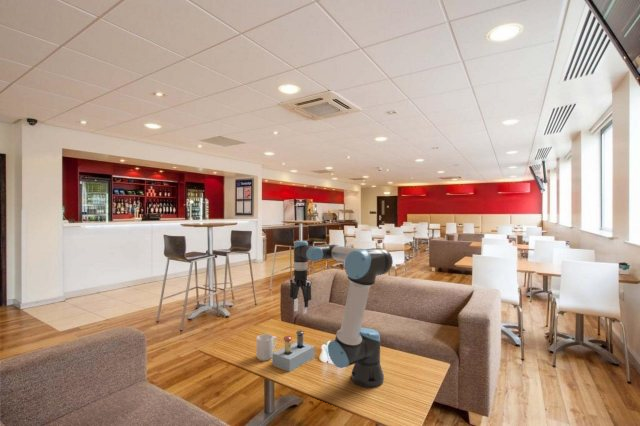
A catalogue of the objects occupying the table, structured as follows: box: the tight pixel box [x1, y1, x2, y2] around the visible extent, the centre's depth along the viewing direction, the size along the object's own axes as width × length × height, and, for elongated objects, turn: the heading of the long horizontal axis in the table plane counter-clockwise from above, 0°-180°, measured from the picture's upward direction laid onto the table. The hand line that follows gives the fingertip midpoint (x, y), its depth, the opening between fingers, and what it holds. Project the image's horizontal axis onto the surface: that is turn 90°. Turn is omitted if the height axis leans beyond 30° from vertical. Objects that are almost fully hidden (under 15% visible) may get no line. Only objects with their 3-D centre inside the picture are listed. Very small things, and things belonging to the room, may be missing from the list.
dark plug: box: [296, 330, 305, 349], centre depth 173 cm, size 4×4×9 cm
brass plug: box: [283, 335, 292, 355], centre depth 165 cm, size 4×4×9 cm
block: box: [271, 341, 315, 372], centre depth 169 cm, size 12×20×6 cm, turn 144°
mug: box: [256, 333, 278, 362], centre depth 174 cm, size 12×9×11 cm
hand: (300, 311), depth 173 cm, fingers open, 6 cm apart
